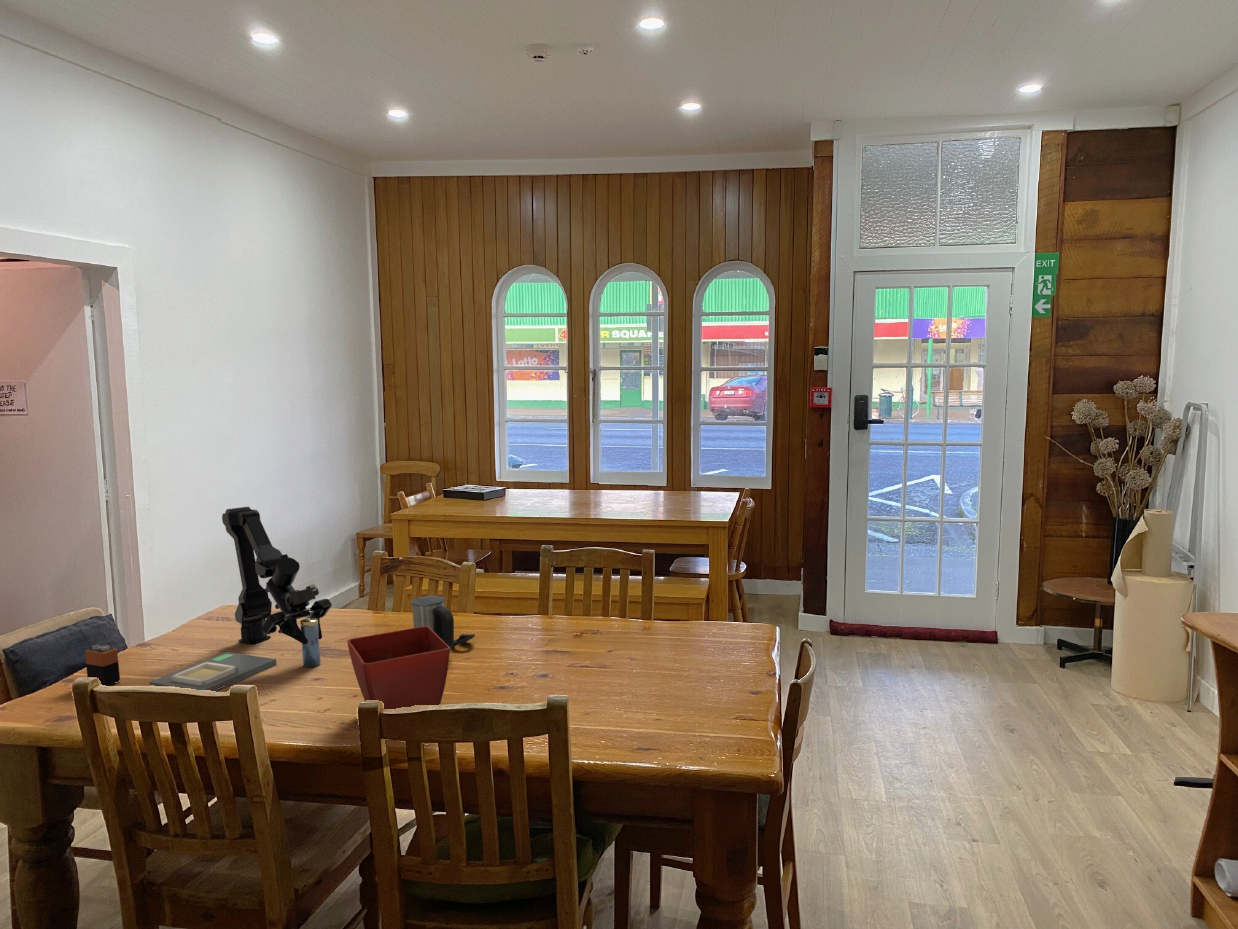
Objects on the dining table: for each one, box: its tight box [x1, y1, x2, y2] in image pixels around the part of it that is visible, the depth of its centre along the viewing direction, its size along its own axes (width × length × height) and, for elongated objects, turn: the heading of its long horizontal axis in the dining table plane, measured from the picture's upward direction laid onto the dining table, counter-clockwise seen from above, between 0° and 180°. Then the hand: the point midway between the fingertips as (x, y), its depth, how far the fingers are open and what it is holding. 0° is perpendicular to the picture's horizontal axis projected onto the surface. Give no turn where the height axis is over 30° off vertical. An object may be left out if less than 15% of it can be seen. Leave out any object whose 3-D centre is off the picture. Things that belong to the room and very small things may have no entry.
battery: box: [84, 644, 121, 687], centre depth 222 cm, size 4×7×10 cm, turn 67°
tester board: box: [149, 651, 277, 692], centre depth 226 cm, size 24×18×3 cm
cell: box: [299, 618, 321, 668], centre depth 232 cm, size 4×4×12 cm
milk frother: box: [410, 595, 476, 649], centre depth 242 cm, size 14×16×15 cm
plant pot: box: [346, 626, 451, 709], centre depth 197 cm, size 19×19×17 cm
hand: (313, 641), depth 231 cm, fingers closed on cell, 4 cm apart
